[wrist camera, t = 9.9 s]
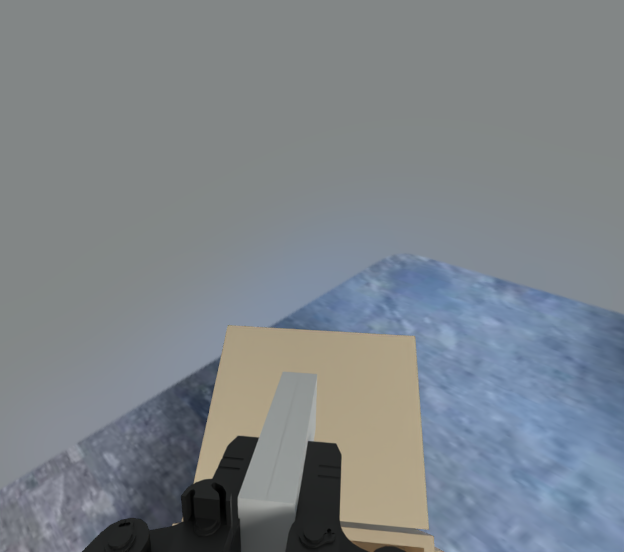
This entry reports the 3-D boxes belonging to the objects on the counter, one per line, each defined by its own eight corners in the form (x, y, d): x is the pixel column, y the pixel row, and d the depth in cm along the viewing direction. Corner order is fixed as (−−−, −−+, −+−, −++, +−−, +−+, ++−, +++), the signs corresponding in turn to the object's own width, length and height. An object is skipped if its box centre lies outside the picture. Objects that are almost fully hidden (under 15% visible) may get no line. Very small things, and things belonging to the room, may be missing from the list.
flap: (426, 528, 22) (413, 339, 28) (428, 529, 21) (415, 336, 27) (191, 506, 23) (229, 328, 29) (188, 506, 22) (227, 325, 28)
